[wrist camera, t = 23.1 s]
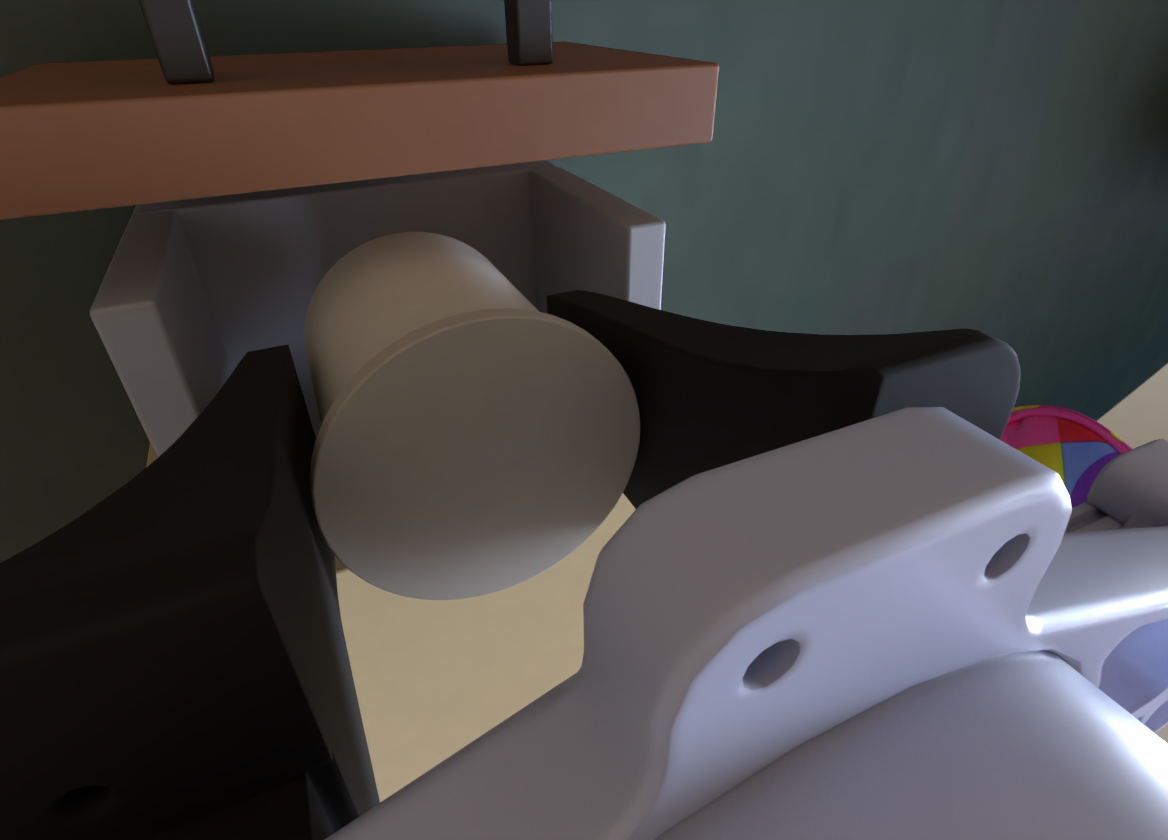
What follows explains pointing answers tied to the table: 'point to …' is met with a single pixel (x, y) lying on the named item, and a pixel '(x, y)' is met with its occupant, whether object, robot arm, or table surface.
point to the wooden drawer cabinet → (460, 657)
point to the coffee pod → (457, 422)
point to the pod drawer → (332, 179)
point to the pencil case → (1064, 444)
